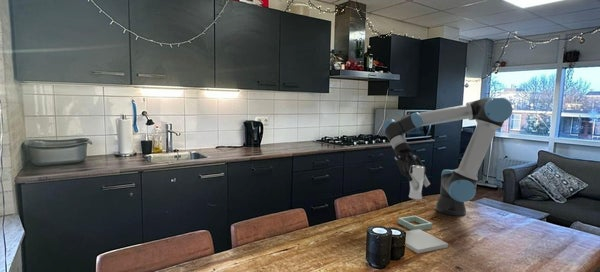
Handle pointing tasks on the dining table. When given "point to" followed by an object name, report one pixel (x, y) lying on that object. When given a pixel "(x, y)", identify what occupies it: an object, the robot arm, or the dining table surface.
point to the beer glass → (417, 181)
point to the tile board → (423, 241)
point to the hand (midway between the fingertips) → (421, 186)
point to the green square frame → (421, 226)
